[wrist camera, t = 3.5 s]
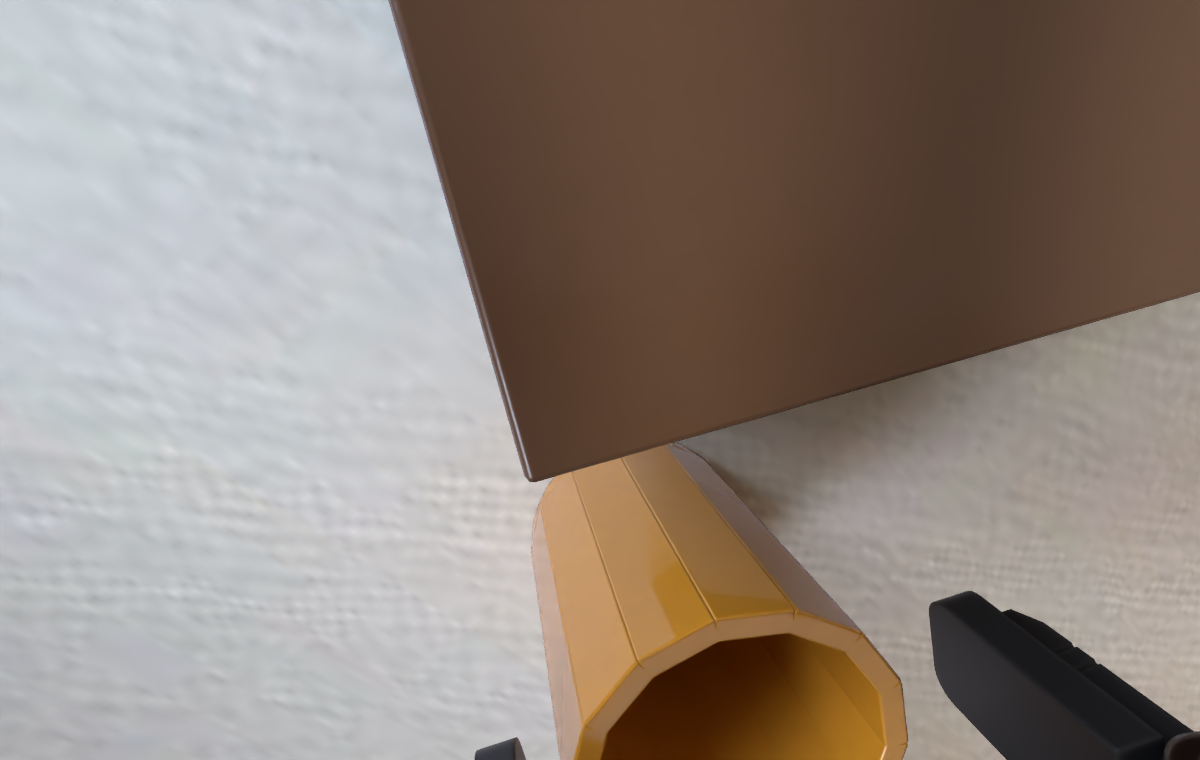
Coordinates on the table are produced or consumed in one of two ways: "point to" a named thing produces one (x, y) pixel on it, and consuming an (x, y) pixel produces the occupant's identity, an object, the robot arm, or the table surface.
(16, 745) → the table surface
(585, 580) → the ochre cup
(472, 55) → the shelf
